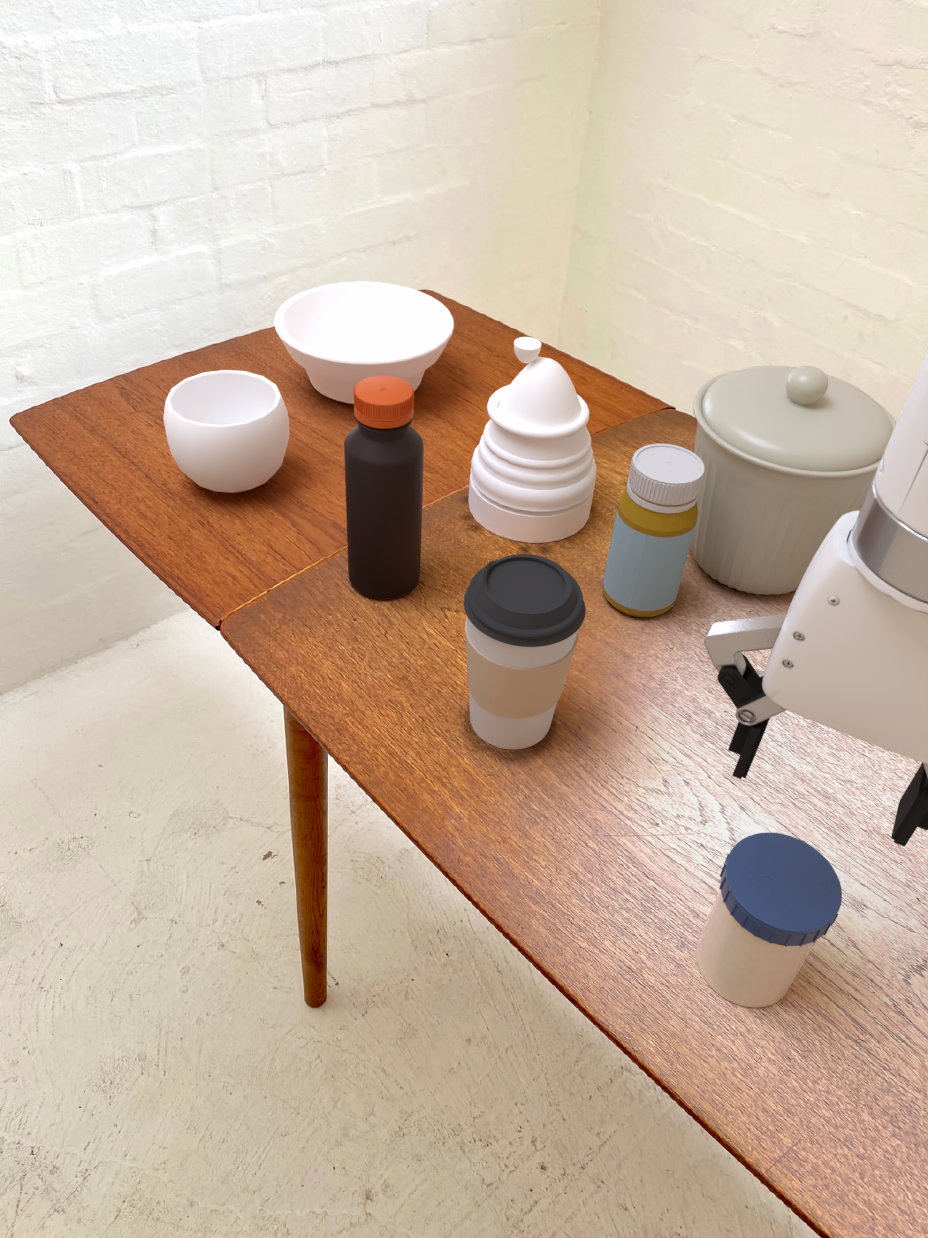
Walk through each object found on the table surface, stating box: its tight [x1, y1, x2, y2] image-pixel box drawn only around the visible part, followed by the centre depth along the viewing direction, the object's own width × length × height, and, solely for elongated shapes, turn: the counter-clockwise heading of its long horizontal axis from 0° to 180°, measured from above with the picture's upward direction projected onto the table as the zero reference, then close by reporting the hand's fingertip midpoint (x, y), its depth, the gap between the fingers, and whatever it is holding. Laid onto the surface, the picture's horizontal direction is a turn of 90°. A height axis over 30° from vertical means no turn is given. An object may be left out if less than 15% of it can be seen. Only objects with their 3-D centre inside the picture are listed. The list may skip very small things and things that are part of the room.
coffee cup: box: [463, 553, 587, 750], centre depth 76 cm, size 9×9×15 cm
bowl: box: [273, 281, 455, 405], centre depth 118 cm, size 21×21×8 cm
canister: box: [689, 364, 897, 596], centre depth 91 cm, size 18×18×21 cm
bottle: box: [601, 443, 705, 618], centre depth 88 cm, size 7×7×15 cm
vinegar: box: [343, 376, 425, 600], centre depth 86 cm, size 7×7×20 cm
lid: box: [718, 832, 843, 947], centre depth 60 cm, size 7×7×2 cm
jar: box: [695, 888, 818, 1009], centre depth 63 cm, size 6×6×10 cm
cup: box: [162, 369, 291, 494], centre depth 101 cm, size 12×12×10 cm
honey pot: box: [467, 336, 598, 544], centre depth 97 cm, size 13×13×18 cm
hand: (821, 791), depth 53 cm, fingers open, 8 cm apart
